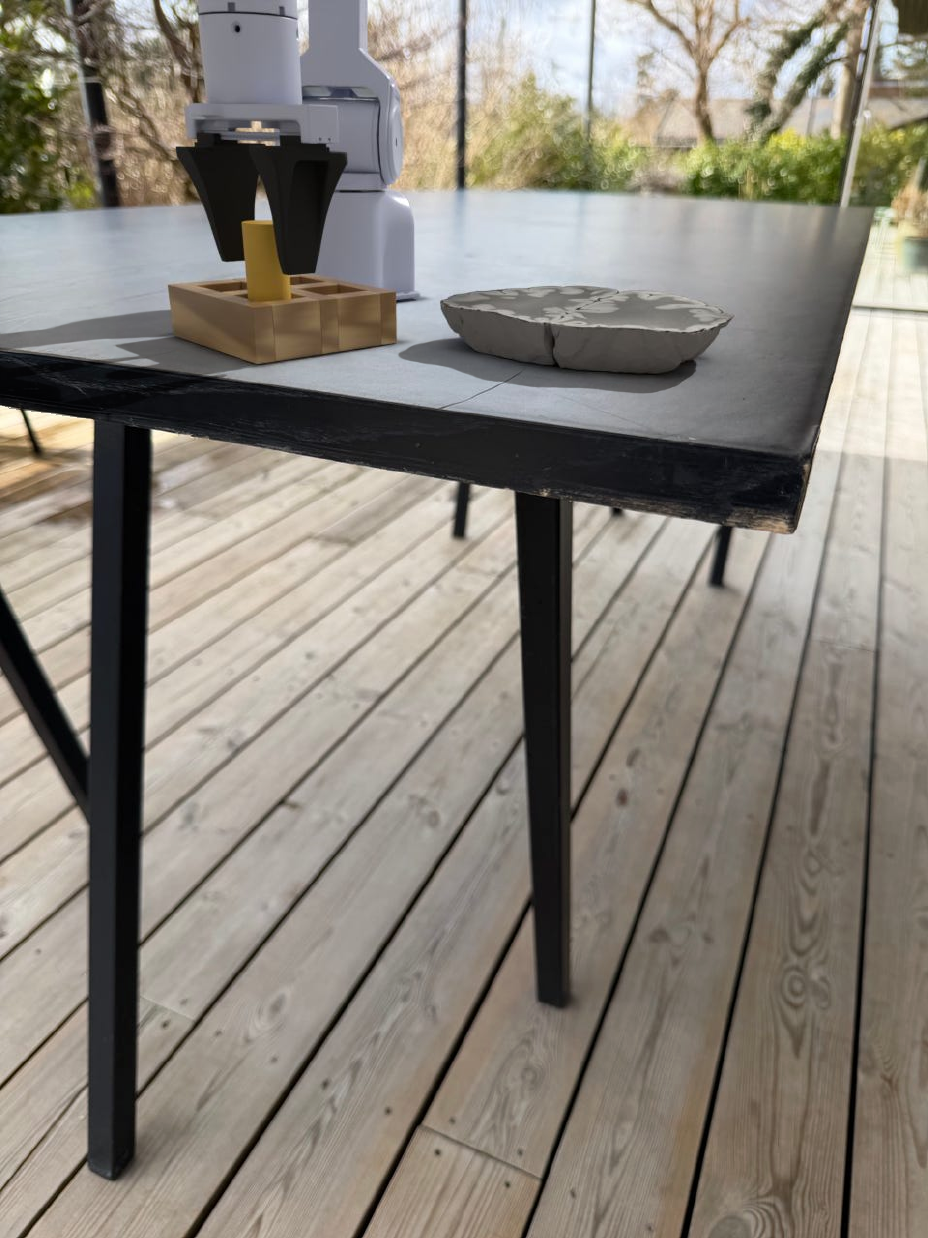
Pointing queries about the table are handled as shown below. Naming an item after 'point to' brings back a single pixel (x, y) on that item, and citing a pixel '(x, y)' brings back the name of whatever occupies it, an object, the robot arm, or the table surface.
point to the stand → (284, 318)
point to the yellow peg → (263, 263)
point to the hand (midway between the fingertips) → (267, 266)
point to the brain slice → (586, 327)
